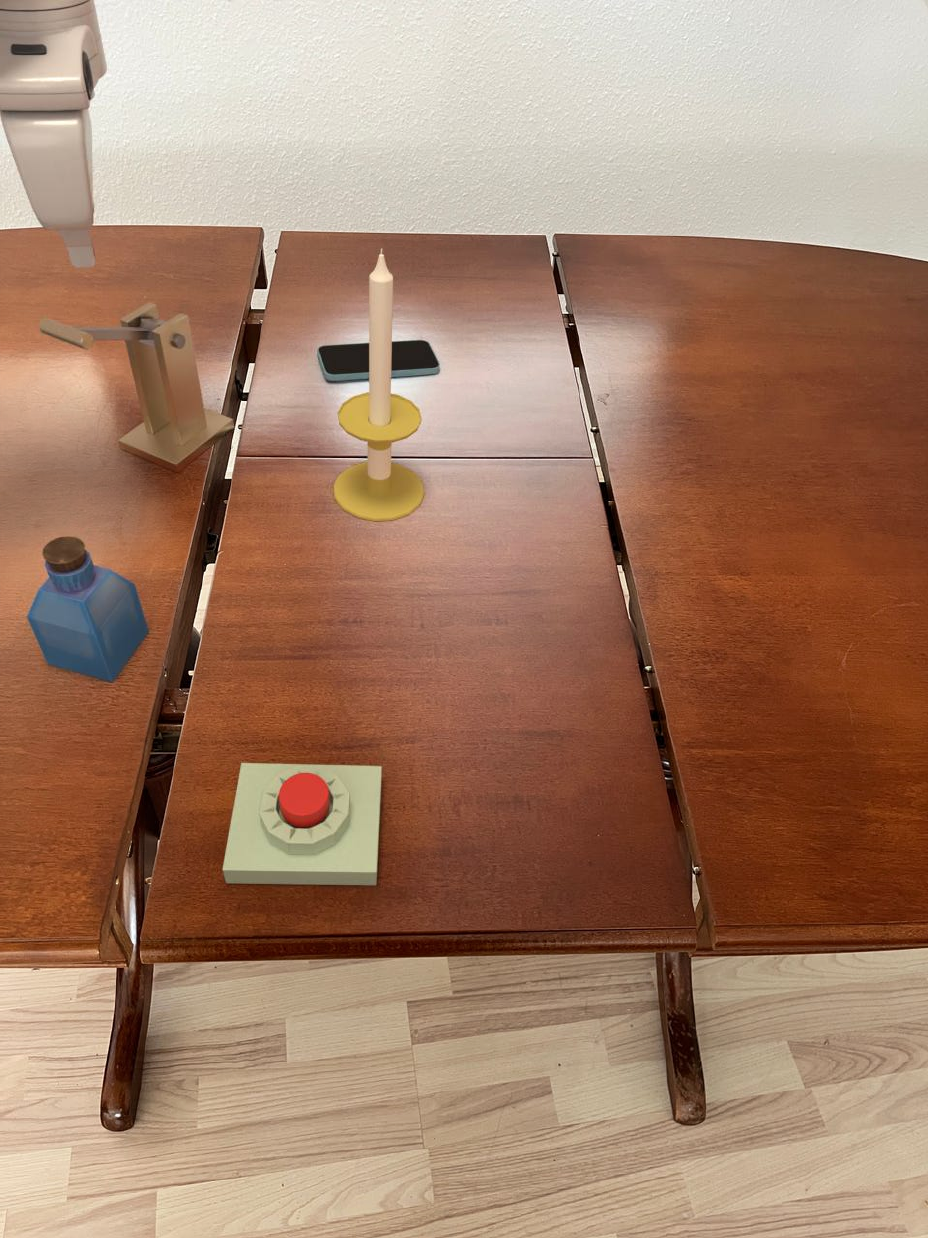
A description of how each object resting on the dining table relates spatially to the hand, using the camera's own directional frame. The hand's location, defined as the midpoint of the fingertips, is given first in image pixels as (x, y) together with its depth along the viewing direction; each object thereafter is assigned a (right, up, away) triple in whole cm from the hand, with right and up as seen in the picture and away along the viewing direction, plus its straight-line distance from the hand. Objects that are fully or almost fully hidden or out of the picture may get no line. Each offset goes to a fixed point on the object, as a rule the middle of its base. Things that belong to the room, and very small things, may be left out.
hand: (84, 237), depth 71 cm
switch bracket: (-1, -11, +26) cm, 29 cm away
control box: (+19, -48, -5) cm, 52 cm away
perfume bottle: (-1, -34, +6) cm, 35 cm away
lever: (-2, -5, +12) cm, 14 cm away
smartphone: (+20, +1, +40) cm, 45 cm away
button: (+20, -46, -8) cm, 50 cm away
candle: (+22, -18, +23) cm, 37 cm away
